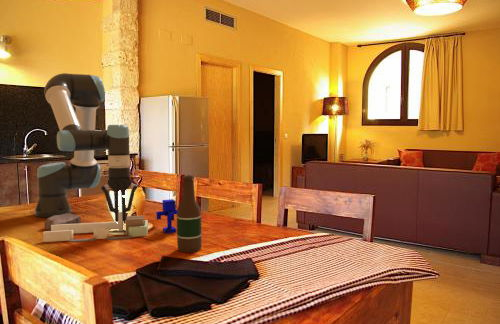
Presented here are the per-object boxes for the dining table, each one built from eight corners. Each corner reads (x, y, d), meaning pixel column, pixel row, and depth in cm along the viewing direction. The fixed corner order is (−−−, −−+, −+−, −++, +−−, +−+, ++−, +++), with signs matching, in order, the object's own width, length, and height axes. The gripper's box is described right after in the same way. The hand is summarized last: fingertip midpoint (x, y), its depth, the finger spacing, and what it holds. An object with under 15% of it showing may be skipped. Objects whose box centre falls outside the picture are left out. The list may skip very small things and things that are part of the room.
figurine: (155, 233, 150) (154, 201, 149) (166, 228, 157) (165, 198, 156) (173, 235, 148) (172, 202, 147) (183, 230, 155) (182, 199, 154)
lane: (51, 234, 150) (51, 224, 149) (148, 228, 157) (147, 220, 157) (43, 242, 139) (42, 232, 139) (146, 236, 147) (146, 226, 146)
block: (127, 231, 153) (127, 216, 152) (144, 230, 154) (143, 215, 154) (126, 235, 147) (125, 219, 147) (143, 234, 148) (142, 218, 148)
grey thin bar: (71, 240, 141) (71, 239, 141) (130, 237, 145) (130, 236, 145) (69, 242, 139) (69, 241, 139) (129, 238, 143) (129, 237, 143)
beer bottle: (178, 246, 134) (177, 174, 132) (202, 245, 135) (200, 174, 133) (176, 253, 126) (174, 177, 124) (201, 252, 127) (200, 177, 125)
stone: (57, 232, 154) (57, 219, 153) (42, 229, 158) (41, 218, 157) (83, 225, 164) (82, 213, 164) (68, 223, 168) (67, 212, 168)
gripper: (98, 168, 143) (101, 233, 145) (136, 167, 145) (138, 231, 147) (102, 166, 150) (104, 228, 152) (138, 165, 153) (139, 226, 155)
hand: (121, 229), depth 150 cm, fingers closed
